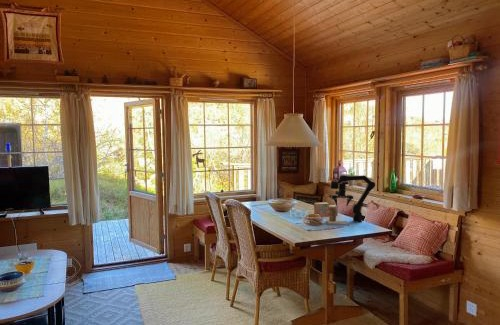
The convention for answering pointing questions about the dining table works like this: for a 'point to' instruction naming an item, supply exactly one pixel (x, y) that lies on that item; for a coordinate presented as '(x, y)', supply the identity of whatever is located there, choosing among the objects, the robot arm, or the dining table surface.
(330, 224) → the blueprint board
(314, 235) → the dining table surface
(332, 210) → the walnut pillar
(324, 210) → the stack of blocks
